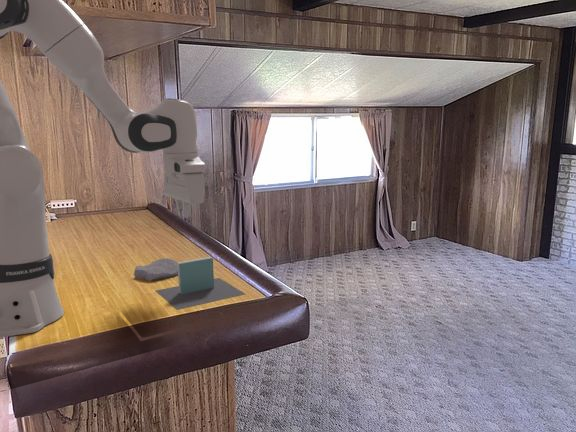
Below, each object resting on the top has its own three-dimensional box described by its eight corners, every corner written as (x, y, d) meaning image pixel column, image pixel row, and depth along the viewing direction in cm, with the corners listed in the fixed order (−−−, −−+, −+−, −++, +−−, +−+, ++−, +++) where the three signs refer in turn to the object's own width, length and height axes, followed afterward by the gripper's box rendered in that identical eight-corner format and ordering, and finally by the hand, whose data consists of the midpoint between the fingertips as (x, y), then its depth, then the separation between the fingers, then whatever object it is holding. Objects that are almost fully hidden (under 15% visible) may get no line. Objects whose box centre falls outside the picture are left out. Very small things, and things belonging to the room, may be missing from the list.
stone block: (187, 280, 139) (166, 268, 145) (187, 265, 137) (166, 253, 143) (152, 292, 130) (131, 279, 136) (153, 277, 128) (132, 264, 134)
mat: (177, 312, 110) (177, 309, 109) (155, 292, 123) (155, 290, 123) (246, 296, 119) (245, 293, 119) (219, 279, 132) (218, 277, 132)
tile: (181, 294, 119) (179, 264, 118) (179, 292, 121) (177, 262, 119) (214, 287, 124) (212, 258, 123) (211, 285, 126) (210, 256, 124)
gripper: (156, 162, 128) (159, 212, 131) (183, 166, 111) (186, 224, 114) (178, 161, 132) (181, 210, 134) (208, 165, 115) (211, 221, 117)
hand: (184, 216), depth 124 cm, fingers closed
